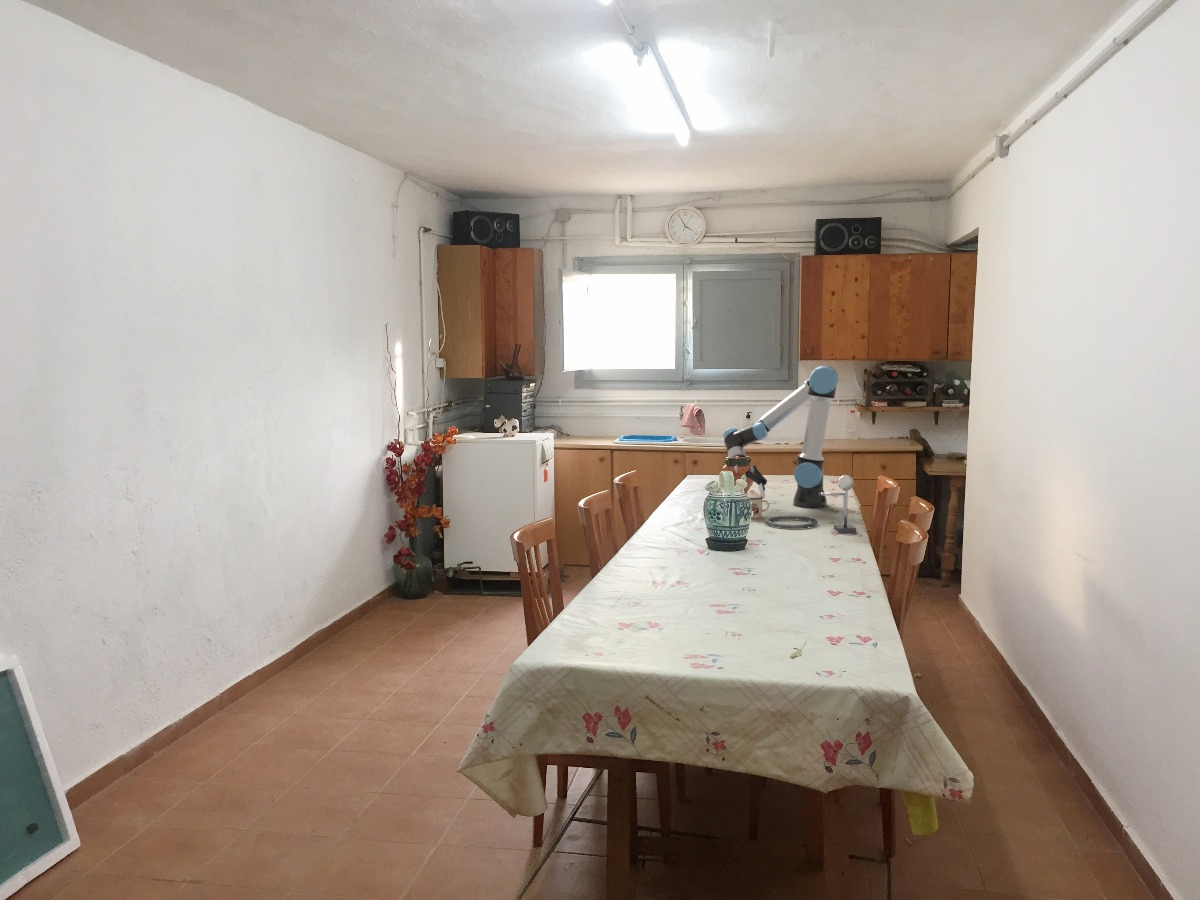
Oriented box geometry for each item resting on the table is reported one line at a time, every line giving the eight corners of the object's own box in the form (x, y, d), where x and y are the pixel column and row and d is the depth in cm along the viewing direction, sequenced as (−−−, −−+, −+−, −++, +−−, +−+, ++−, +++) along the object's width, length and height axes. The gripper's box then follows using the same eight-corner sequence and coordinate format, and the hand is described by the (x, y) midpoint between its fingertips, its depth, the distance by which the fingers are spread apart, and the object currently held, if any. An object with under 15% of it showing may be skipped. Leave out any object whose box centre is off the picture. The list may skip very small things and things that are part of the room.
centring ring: (810, 518, 384) (810, 515, 384) (822, 528, 363) (822, 525, 363) (761, 519, 384) (761, 515, 384) (770, 529, 363) (770, 525, 363)
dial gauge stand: (851, 529, 361) (852, 473, 359) (856, 533, 354) (857, 476, 352) (816, 529, 361) (816, 474, 359) (820, 533, 354) (821, 476, 352)
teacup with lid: (739, 517, 388) (740, 491, 387) (742, 514, 397) (742, 487, 395) (768, 519, 385) (768, 492, 383) (770, 515, 393) (770, 488, 392)
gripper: (761, 463, 411) (773, 501, 398) (709, 464, 406) (719, 503, 393) (766, 453, 405) (778, 491, 392) (713, 454, 400) (723, 493, 387)
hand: (748, 497), depth 393 cm, fingers open, 13 cm apart
